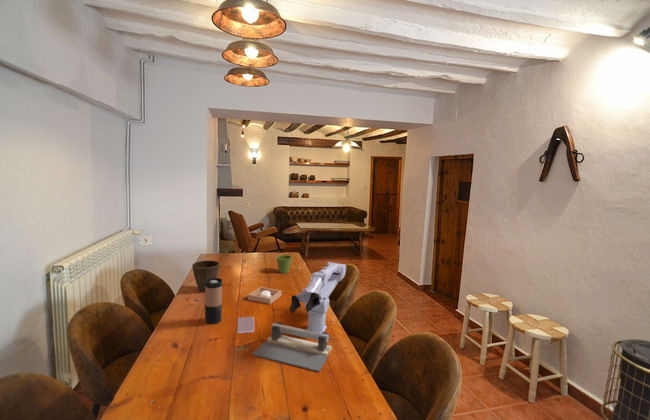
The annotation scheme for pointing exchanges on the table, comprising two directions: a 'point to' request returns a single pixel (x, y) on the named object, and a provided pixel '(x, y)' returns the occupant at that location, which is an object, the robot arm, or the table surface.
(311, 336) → the rail
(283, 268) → the plant pot
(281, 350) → the mat
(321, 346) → the hook stand
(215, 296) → the travel mug
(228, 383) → the table surface
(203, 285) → the plant pot
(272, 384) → the table surface
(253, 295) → the garlic dish
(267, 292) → the garlic
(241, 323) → the mobile phone
